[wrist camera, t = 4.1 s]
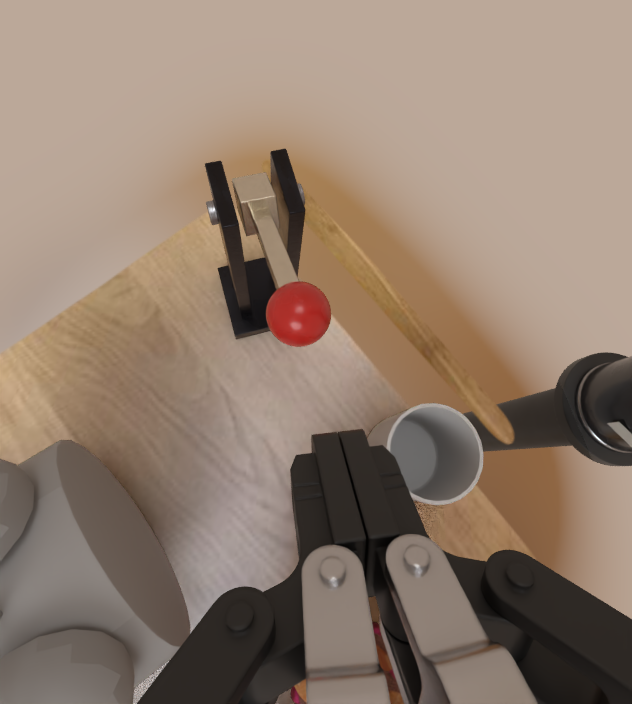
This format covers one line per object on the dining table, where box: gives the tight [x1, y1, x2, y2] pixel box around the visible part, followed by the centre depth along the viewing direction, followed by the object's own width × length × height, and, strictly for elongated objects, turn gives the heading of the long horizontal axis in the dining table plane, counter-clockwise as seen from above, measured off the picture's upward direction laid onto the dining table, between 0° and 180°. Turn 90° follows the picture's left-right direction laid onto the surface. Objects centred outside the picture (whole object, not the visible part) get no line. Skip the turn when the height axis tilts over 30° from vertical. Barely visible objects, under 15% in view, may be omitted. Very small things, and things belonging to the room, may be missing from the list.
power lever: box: [232, 172, 331, 347], centre depth 25 cm, size 13×3×3 cm, turn 16°
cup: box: [367, 403, 483, 505], centre depth 36 cm, size 7×10×9 cm
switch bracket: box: [205, 149, 305, 339], centre depth 35 cm, size 7×7×18 cm
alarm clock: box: [0, 440, 190, 704], centre depth 26 cm, size 16×9×22 cm, turn 35°
